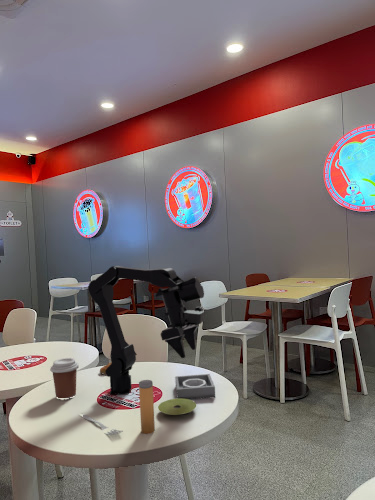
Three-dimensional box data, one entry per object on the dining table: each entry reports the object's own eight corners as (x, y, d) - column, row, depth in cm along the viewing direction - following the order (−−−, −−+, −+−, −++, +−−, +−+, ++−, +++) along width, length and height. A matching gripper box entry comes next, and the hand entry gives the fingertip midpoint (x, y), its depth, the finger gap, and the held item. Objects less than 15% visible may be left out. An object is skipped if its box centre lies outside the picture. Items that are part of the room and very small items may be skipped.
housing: (177, 400, 120) (177, 389, 120) (175, 386, 132) (175, 376, 132) (215, 397, 121) (214, 386, 121) (209, 383, 133) (209, 373, 133)
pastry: (104, 377, 146) (104, 367, 146) (96, 373, 152) (96, 363, 151) (126, 371, 152) (125, 361, 152) (117, 367, 157) (117, 358, 157)
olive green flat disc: (154, 407, 116) (154, 401, 116) (190, 401, 119) (190, 395, 119) (162, 424, 105) (162, 417, 105) (201, 417, 108) (201, 410, 108)
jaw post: (141, 434, 100) (138, 385, 100) (141, 428, 103) (139, 380, 103) (154, 433, 100) (152, 384, 100) (154, 426, 104) (152, 379, 103)
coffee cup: (53, 404, 122) (51, 367, 122) (50, 394, 130) (48, 359, 130) (82, 398, 126) (80, 362, 126) (77, 389, 134) (76, 355, 134)
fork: (80, 410, 117) (79, 404, 117) (124, 436, 100) (124, 430, 100) (70, 414, 115) (69, 408, 115) (114, 441, 98) (114, 434, 98)
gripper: (185, 304, 111) (202, 356, 110) (206, 295, 128) (220, 340, 127) (153, 314, 115) (168, 364, 114) (177, 304, 132) (190, 347, 131)
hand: (189, 353), depth 121 cm, fingers open, 9 cm apart
